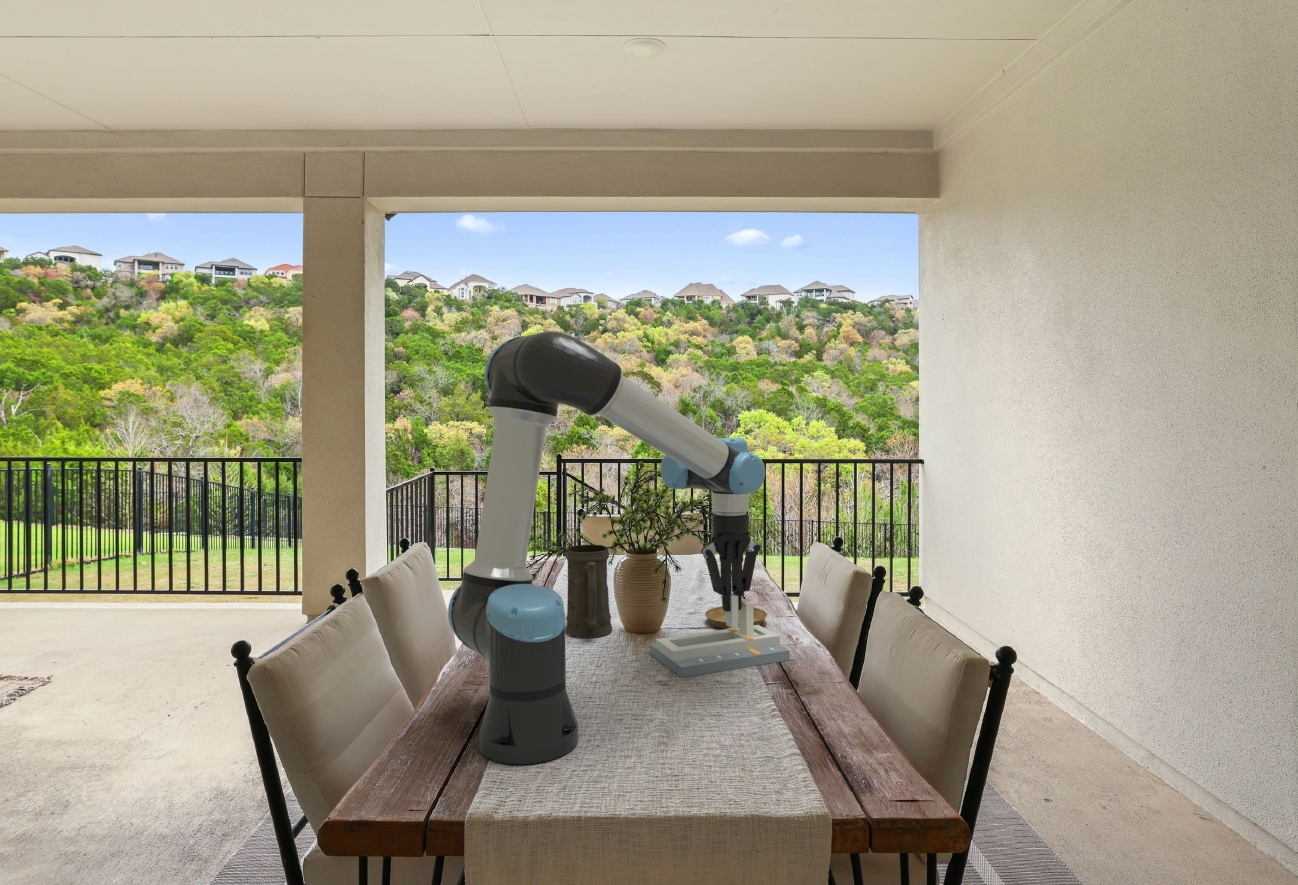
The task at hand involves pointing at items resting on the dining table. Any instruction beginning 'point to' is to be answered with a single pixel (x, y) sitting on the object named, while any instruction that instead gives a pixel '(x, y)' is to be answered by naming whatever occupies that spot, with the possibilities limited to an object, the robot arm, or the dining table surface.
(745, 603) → the fader tab
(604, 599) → the beer stein
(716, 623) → the plant saucer
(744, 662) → the console
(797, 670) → the dining table surface
